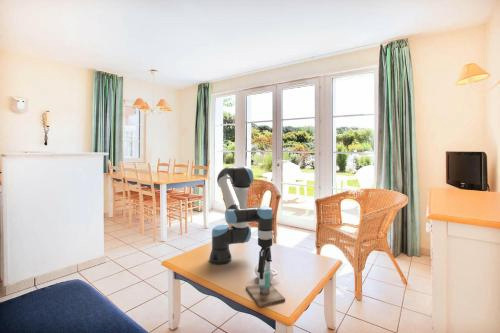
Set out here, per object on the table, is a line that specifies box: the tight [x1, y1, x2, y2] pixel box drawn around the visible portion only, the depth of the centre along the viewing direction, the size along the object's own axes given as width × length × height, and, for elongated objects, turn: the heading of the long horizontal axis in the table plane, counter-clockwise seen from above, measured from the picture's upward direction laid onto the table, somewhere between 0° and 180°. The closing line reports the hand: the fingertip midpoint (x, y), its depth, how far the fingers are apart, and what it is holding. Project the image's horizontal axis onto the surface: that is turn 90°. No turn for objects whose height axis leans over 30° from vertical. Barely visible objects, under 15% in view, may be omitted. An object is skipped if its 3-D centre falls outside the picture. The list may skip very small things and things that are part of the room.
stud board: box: [245, 282, 286, 308], centre depth 131 cm, size 18×14×10 cm
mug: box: [254, 264, 278, 283], centre depth 147 cm, size 12×10×8 cm
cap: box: [260, 270, 271, 288], centre depth 131 cm, size 5×5×7 cm
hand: (264, 279), depth 131 cm, fingers open, 11 cm apart
